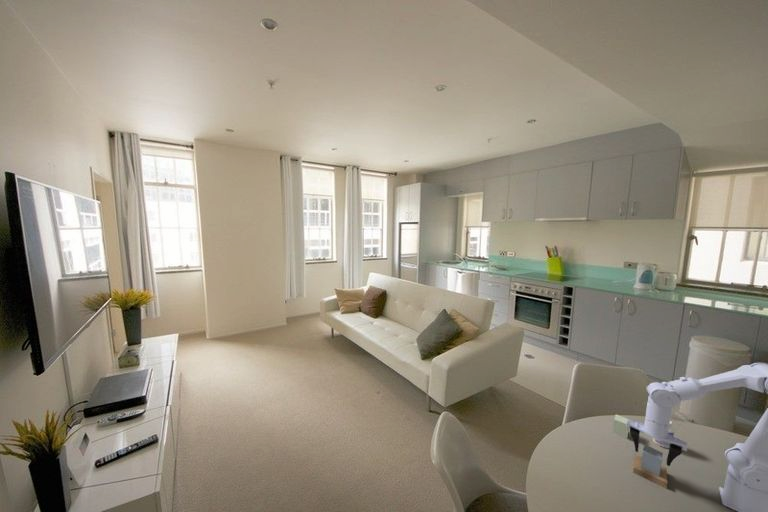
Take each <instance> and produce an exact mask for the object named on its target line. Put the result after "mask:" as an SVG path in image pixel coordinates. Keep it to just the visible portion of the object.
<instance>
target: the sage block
mask: <svg viewBox="0 0 768 512" xmlns="http://www.w3.org/2000/svg"><path fill="white" fill-rule="evenodd" d="M627 420H630V419H629V418H626V417H624V416H621V415H619V414H616V413H615V415H614V419H613V426H612V434H614V433H615V434H614V435H616V436H618V437H621V438H623V439H626V440H628V437H629V431H630V428H627V427H626V423H627Z"/></svg>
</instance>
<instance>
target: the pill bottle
mask: <svg viewBox="0 0 768 512" xmlns="http://www.w3.org/2000/svg"><path fill="white" fill-rule="evenodd" d="M668 434H670V435H672V436H674V435H675V430H674V428H673V422H672V421H671V420H670V424H669V431H668ZM652 441H653V442H654V443H655V444H656V445H658V446H660V447H663V449H669V446H670V443H667V442H665V441H661V440H657V439H655V438H653V437H652Z"/></svg>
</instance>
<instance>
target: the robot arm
mask: <svg viewBox="0 0 768 512" xmlns="http://www.w3.org/2000/svg"><path fill="white" fill-rule="evenodd" d="M742 387H743V388H746V389H750V390H752V391H756V392H760V393H761V394H762V393H763V394H764V393H766V394H767V395H768V363H765V362H754V363H752V364H744V365H741V366H740V367H738V368H736V369H733V370H729V371H726V372H721V373H718V374H715V375H712V376H708V377H704V378H700V379H696V378H693V377H691V376H690V377H685V376H681V377H679V379H675V380H670V381H662V382H658V381H655V382H651V383H649V385H647V386H645V390H646V392H647V394H648V398H647V399H648V400H647V404H646V410H645V419H644V423H642V422H641V423H640V422H636V421H633V420H631V419H629V420H627V423H626V427H627V428H629V434H630V436H631V439H632V440H633V443H634V450H635V452H636V453H638V452H639V446H640V444H639V440H640V433H643V434H645V435H647V436H648V437H650V438H652V439H653V438H655V439H657V440H661V441H665V442H667V443H670V446H669V448H668V454H667V457H666V466H668V467H670V466H671V464H672V463H673V461H674V460H675V459H676V458H677V457H678V456H680V455H682V451H685V452H688V446H689V445H688V442H686V441H684V440H682V439H680V438H678V437H676V436H674V435H673V436H672V435H670V434H668V431H669V424H670V421H671V416H672V408H674V407H676V406H677V404H679V403H680V402H682V401H683V402H685V401H689V400H694V399H695V400H696V399H700V398H704V397H705V396H706V394H707V393H708V392H713V391H714V392H715V391H721V390H727V389H734V388H742ZM724 458H725V460H726V461H727V462H728V467H727V470H726V475H725V480H724V486H723V487H721V486H718V487H719V488H718V490H719V494H720V498H721V503H722V505H723V506H724V507H728V508H729V509H732V510H734V511H736V512H768V407H767V408H766V410H765V412H764V413H763V415H762V416H761V417H760V419H759V421H758V422H757V424H756V425H755V427H754V428H753V430H752V431H751V433H750V434H749V436H748V437H747V438H746V440H745V442H736V444H735V445H734V446H732V447H730V448H728V449H726V450H725V452H724Z"/></svg>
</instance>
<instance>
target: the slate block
mask: <svg viewBox="0 0 768 512" xmlns="http://www.w3.org/2000/svg"><path fill="white" fill-rule="evenodd" d="M663 454H664V453H663V452H662V451H659V450H657V449H655V448H653V447H651V446H649V445H646V444H644V446H643V450H642V455H641V457H642V461H641V468H643V469H645V470H647V471H649V472H651V473H653V474H655V475H657V476H659V475H660V470H661V466H662V462H663Z"/></svg>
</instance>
